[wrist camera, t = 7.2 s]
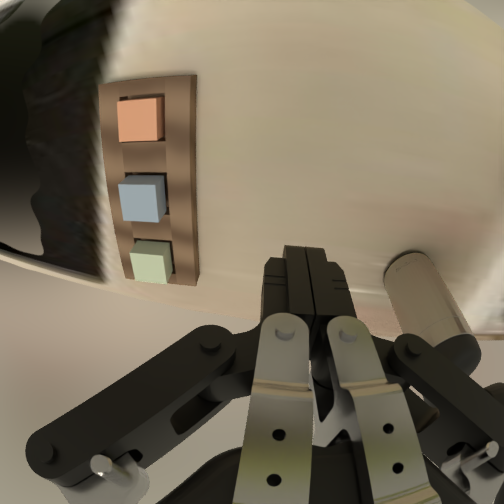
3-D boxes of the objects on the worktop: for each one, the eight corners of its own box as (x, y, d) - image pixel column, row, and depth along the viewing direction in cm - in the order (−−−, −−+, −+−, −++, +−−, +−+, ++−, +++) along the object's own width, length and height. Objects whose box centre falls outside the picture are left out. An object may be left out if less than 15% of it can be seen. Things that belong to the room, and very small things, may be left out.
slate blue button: (166, 210, 38) (158, 222, 35) (132, 209, 38) (123, 220, 35) (163, 175, 35) (155, 184, 32) (128, 175, 35) (118, 184, 32)
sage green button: (172, 270, 43) (166, 284, 41) (142, 267, 43) (135, 280, 41) (169, 242, 40) (162, 255, 38) (137, 240, 40) (129, 252, 38)
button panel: (199, 274, 47) (195, 286, 44) (132, 267, 47) (125, 278, 44) (196, 75, 30) (190, 75, 27) (110, 83, 30) (98, 84, 28)
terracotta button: (165, 134, 33) (157, 140, 30) (130, 135, 33) (119, 141, 30) (165, 95, 30) (156, 98, 28) (128, 98, 30) (117, 101, 28)
